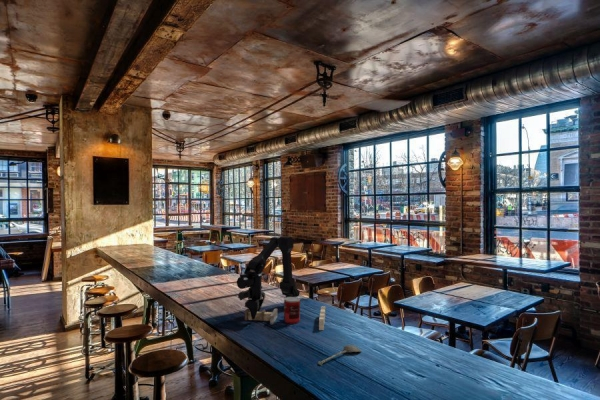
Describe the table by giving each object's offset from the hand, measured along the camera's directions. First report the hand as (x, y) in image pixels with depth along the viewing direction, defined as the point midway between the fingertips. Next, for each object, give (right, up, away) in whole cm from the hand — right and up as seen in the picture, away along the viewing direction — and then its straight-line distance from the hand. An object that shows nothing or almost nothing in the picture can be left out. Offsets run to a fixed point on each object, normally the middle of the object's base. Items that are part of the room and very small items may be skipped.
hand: (255, 316), depth 176 cm
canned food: (+18, -2, -2) cm, 18 cm away
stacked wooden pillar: (+3, -1, 0) cm, 3 cm away
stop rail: (+33, -2, -4) cm, 33 cm away
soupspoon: (+38, -2, -41) cm, 56 cm away
